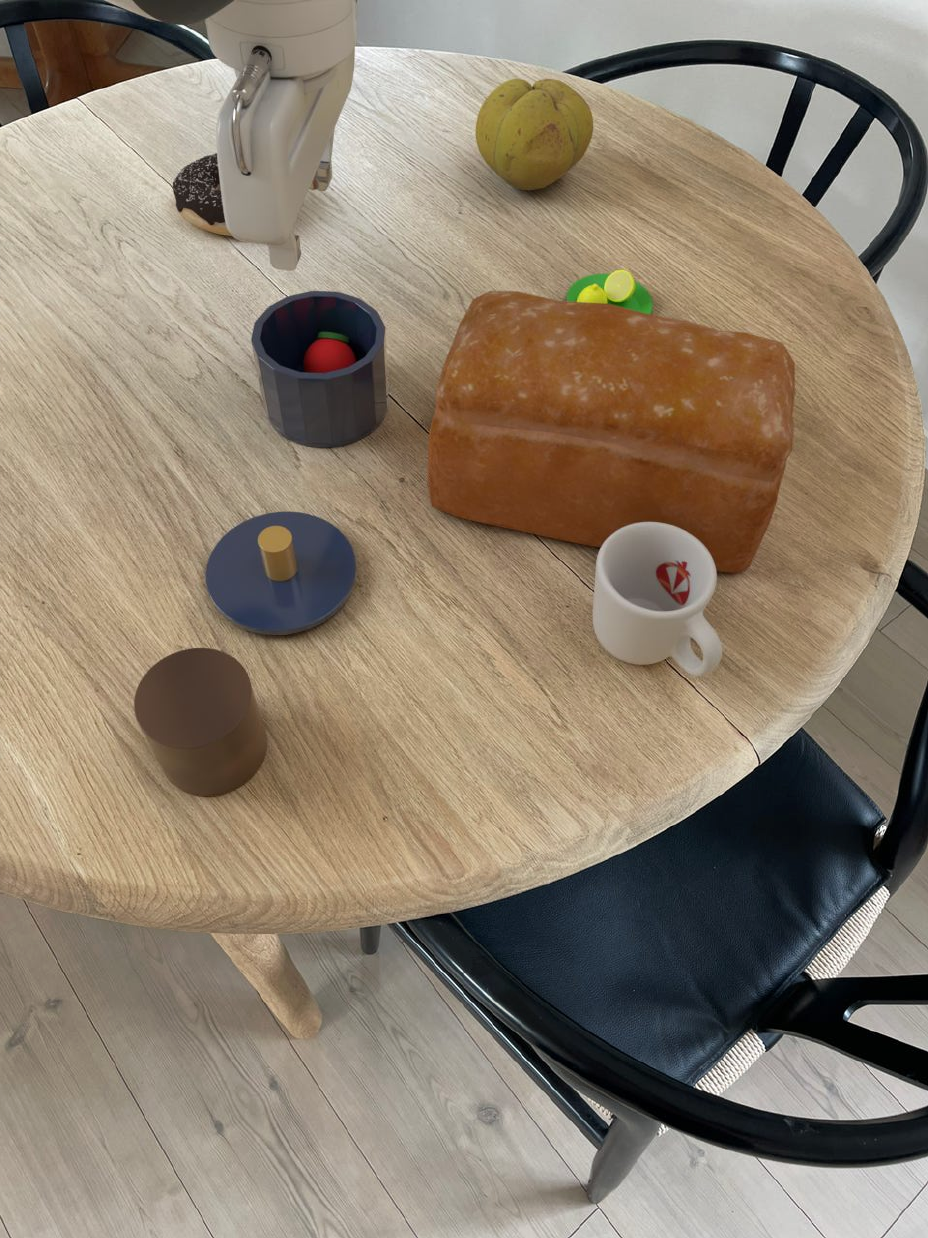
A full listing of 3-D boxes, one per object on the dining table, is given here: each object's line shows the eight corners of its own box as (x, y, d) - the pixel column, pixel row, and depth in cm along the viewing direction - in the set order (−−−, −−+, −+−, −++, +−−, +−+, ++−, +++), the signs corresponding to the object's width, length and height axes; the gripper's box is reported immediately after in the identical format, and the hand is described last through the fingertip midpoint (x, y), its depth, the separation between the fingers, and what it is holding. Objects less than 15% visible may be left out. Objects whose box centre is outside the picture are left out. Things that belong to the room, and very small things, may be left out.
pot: (284, 461, 79) (271, 391, 73) (251, 377, 84) (237, 306, 78) (405, 429, 81) (403, 360, 75) (366, 350, 87) (361, 279, 81)
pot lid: (228, 658, 69) (216, 621, 65) (193, 543, 74) (180, 502, 70) (376, 614, 71) (373, 576, 67) (332, 505, 77) (326, 464, 73)
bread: (458, 400, 84) (463, 239, 71) (764, 459, 81) (828, 303, 68) (416, 520, 76) (413, 365, 63) (751, 590, 73) (821, 443, 60)
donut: (279, 249, 94) (273, 212, 91) (161, 234, 95) (151, 197, 92) (307, 184, 101) (302, 147, 97) (196, 171, 101) (188, 133, 98)
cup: (740, 674, 69) (773, 610, 62) (655, 729, 66) (680, 669, 60) (642, 571, 74) (663, 502, 67) (559, 619, 71) (572, 552, 65)
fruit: (577, 219, 99) (590, 123, 90) (463, 203, 100) (466, 105, 91) (591, 159, 105) (605, 63, 96) (483, 144, 106) (488, 48, 97)
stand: (172, 811, 62) (146, 764, 56) (150, 720, 66) (123, 667, 60) (279, 776, 64) (264, 726, 58) (252, 689, 67) (235, 633, 61)
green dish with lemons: (604, 268, 94) (608, 242, 92) (668, 307, 91) (674, 282, 89) (548, 304, 91) (551, 278, 89) (613, 346, 88) (618, 321, 86)
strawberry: (309, 383, 79) (316, 326, 79) (293, 387, 83) (300, 332, 82) (360, 394, 81) (367, 338, 81) (342, 397, 85) (349, 344, 84)
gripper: (288, 109, 51) (312, 323, 63) (367, -57, 63) (375, 150, 74) (172, 95, 51) (217, 310, 63) (271, -67, 63) (294, 140, 74)
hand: (303, 222), depth 69 cm, fingers open, 8 cm apart
